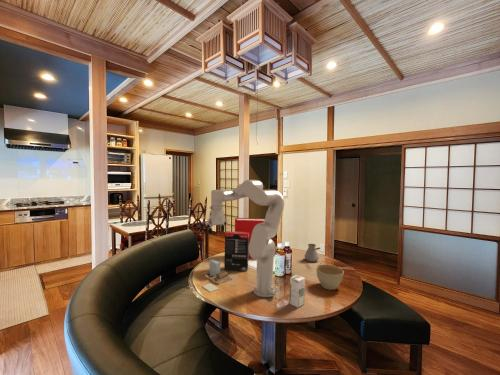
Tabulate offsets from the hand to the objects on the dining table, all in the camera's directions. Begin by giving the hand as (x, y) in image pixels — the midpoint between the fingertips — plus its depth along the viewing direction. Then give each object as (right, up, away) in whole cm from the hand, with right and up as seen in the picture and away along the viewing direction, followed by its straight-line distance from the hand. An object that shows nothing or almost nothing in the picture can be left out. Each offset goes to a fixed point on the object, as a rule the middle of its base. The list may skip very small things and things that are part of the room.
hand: (216, 232), depth 158 cm
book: (+24, -28, +37) cm, 52 cm away
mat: (-1, -29, -19) cm, 35 cm away
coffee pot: (+74, -29, +26) cm, 84 cm away
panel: (-1, -29, -2) cm, 29 cm away
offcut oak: (+5, -30, -8) cm, 31 cm away
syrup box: (+48, -31, -35) cm, 67 cm away
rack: (+1, -29, -4) cm, 29 cm away
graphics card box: (+13, -29, +10) cm, 33 cm away
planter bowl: (+72, -31, -15) cm, 80 cm away
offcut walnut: (+5, -27, -8) cm, 29 cm away
